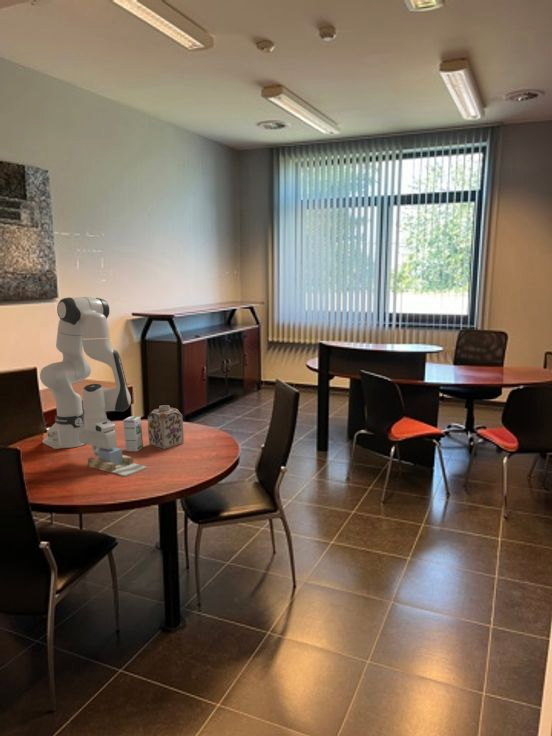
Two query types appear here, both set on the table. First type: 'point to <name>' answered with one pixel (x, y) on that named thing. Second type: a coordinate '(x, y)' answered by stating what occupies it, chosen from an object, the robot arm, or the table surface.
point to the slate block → (111, 455)
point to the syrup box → (133, 433)
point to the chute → (121, 469)
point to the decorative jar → (165, 427)
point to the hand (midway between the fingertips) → (98, 455)
